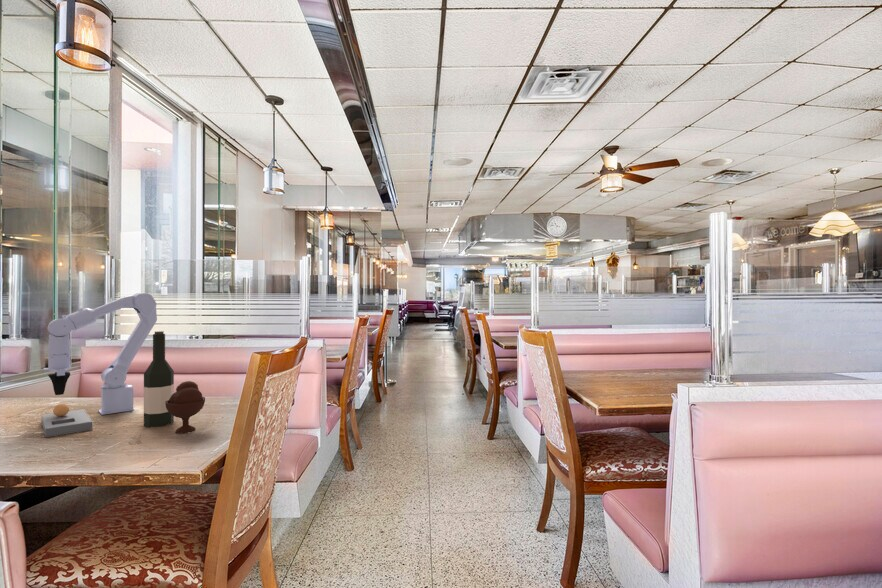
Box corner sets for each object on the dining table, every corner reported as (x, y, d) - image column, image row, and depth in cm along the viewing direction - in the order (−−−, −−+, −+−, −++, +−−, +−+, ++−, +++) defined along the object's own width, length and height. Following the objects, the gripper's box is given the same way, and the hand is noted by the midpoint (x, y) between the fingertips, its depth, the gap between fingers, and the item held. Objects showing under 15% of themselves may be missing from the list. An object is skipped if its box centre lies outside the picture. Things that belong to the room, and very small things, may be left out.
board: (84, 416, 156) (84, 409, 156) (92, 429, 140) (92, 421, 140) (41, 422, 148) (41, 414, 148) (45, 437, 132) (45, 428, 132)
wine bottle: (145, 429, 140) (145, 332, 141) (142, 423, 147) (142, 331, 147) (175, 424, 146) (176, 331, 146) (171, 418, 152) (171, 330, 152)
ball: (68, 414, 149) (68, 402, 149) (69, 416, 146) (69, 404, 146) (52, 416, 146) (52, 404, 146) (53, 418, 144) (53, 406, 144)
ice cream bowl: (159, 431, 138) (159, 382, 138) (198, 423, 146) (198, 377, 146) (170, 438, 131) (171, 387, 131) (211, 430, 139) (211, 381, 139)
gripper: (42, 353, 155) (42, 393, 155) (44, 357, 144) (44, 399, 144) (69, 351, 160) (69, 390, 160) (73, 355, 149) (73, 396, 149)
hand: (59, 394), depth 152 cm, fingers closed
